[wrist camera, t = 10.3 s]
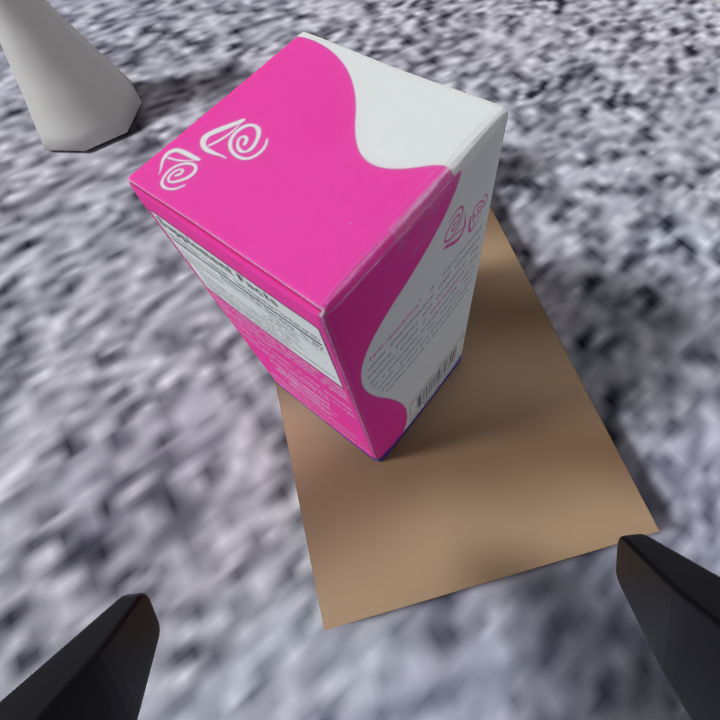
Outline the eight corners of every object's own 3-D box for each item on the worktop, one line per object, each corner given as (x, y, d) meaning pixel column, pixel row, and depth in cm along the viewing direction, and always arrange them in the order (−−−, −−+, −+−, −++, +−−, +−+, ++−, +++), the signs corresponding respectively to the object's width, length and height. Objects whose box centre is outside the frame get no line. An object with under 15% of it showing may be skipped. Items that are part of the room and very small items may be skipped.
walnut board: (639, 534, 17) (712, 523, 13) (331, 625, 17) (306, 643, 13) (455, 167, 25) (464, 91, 21) (249, 223, 25) (218, 157, 21)
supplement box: (356, 289, 21) (305, 17, 11) (464, 359, 19) (533, 108, 9) (270, 382, 19) (112, 169, 9) (378, 468, 17) (336, 324, 7)
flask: (45, 94, 32) (-97, -91, 23) (144, 73, 32) (42, -121, 23) (33, 166, 29) (-136, -15, 20) (143, 142, 29) (23, -50, 20)
